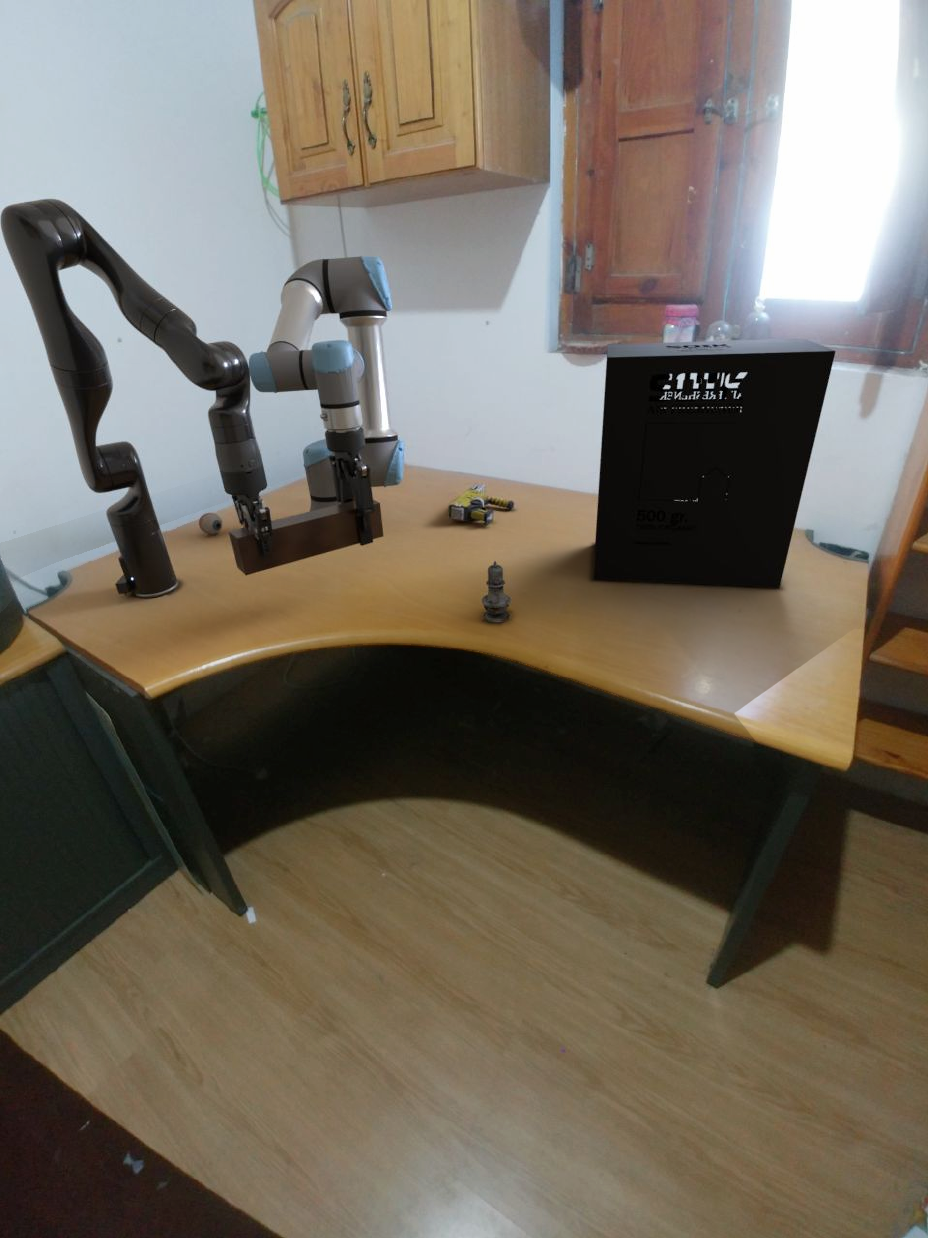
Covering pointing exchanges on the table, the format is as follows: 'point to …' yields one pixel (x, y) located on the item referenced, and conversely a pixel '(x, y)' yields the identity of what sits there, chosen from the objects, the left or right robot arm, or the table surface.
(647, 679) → the table surface
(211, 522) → the eyeball
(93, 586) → the table surface
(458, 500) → the toy gun
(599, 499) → the cardboard box
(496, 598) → the grey tall turned piece
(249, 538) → the plank
